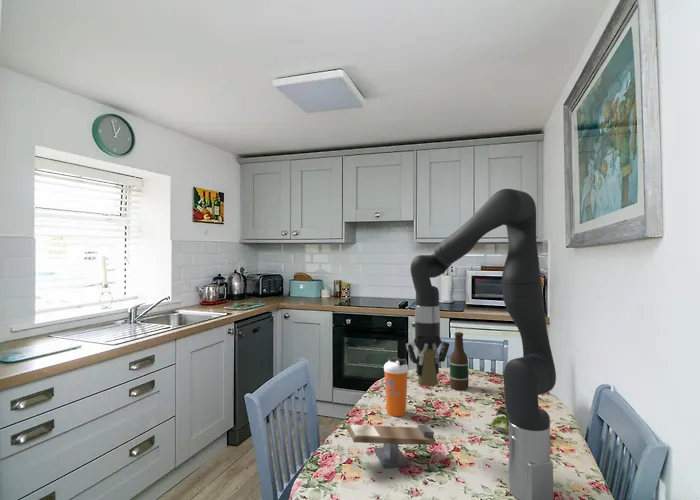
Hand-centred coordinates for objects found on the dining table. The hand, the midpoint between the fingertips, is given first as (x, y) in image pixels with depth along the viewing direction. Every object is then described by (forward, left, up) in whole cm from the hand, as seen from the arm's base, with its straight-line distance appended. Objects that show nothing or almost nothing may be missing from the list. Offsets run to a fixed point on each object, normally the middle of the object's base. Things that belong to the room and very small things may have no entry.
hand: (427, 375), depth 124 cm
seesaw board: (-5, +14, -15) cm, 21 cm away
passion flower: (+2, -31, -22) cm, 38 cm away
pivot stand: (-5, +14, -21) cm, 26 cm away
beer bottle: (+46, -35, -22) cm, 62 cm away
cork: (0, 0, -3) cm, 3 cm away
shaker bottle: (+26, +1, -22) cm, 34 cm away
